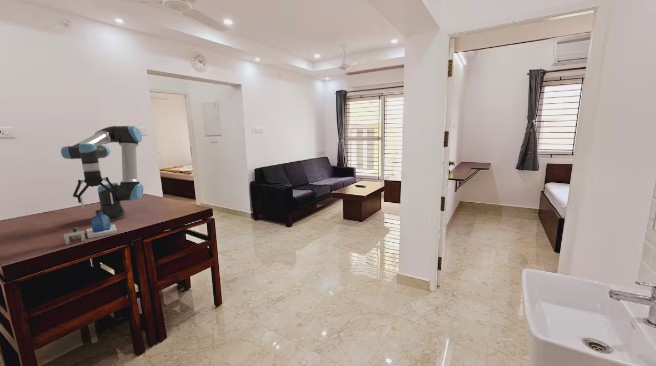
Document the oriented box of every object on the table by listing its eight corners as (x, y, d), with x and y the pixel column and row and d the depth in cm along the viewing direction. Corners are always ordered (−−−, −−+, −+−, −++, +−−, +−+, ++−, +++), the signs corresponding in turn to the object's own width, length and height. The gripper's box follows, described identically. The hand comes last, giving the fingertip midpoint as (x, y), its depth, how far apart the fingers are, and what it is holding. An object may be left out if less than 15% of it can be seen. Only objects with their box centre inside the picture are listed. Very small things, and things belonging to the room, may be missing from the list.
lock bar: (72, 236, 165) (70, 227, 164) (79, 234, 166) (77, 226, 166) (72, 239, 159) (70, 231, 158) (79, 238, 161) (77, 230, 160)
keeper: (65, 243, 153) (64, 234, 152) (85, 239, 159) (83, 230, 158) (65, 244, 152) (63, 235, 151) (85, 240, 157) (84, 231, 156)
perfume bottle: (100, 227, 172) (96, 209, 170) (110, 227, 173) (107, 208, 170) (92, 231, 166) (89, 211, 164) (103, 231, 167) (100, 211, 164)
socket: (87, 232, 170) (86, 229, 170) (115, 227, 179) (114, 224, 179) (88, 238, 160) (87, 235, 160) (117, 232, 169) (116, 229, 169)
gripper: (62, 173, 152) (69, 211, 156) (119, 168, 168) (124, 203, 172) (62, 172, 157) (70, 208, 162) (117, 167, 173) (123, 200, 178)
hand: (98, 205), depth 167 cm, fingers open, 13 cm apart
